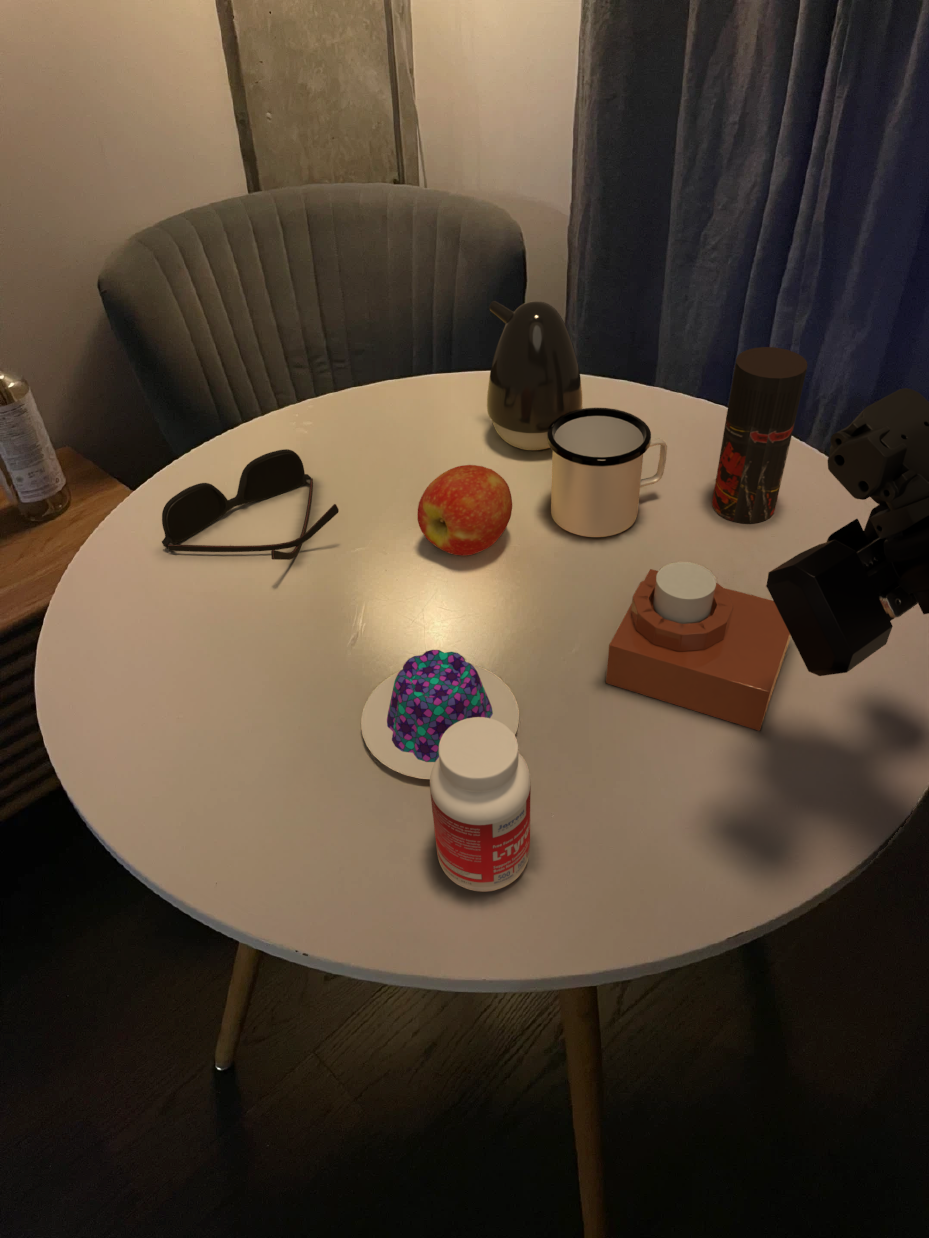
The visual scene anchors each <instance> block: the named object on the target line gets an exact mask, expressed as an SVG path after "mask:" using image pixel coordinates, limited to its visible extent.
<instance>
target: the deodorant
mask: <svg viewBox="0 0 929 1238" xmlns="http://www.w3.org/2000/svg"><path fill="white" fill-rule="evenodd" d="M808 366H809V365H808V362H807V360H806V359H805V358H804V356H802V355H800V354H799V353H797V352H795V351H792V350H789V349H785V348H781V347H774V346H760V347H752V348H749V349H746V350H744V351H742V352H740V353H739V354H737V356H736V358H735V363H734V370H733V375H732V381H731V388H730V394H729V399H728V403H727V404H728V406H727V410H726V417H725V423H724V429H723V434H722V441H721V446H720V452H719V458H718V465H717V470H716V475H715V476H716V477H715V482H714V488H713V493H712V501H711V504H712V505H711V506H712V508H713V510H714V512H715V513H716V514H718V516H720V517H721V518H723V519H725V520H727V521H730V522H733V523H739V524H747V525H751V524H759V523H762V522H766V521H767V520H769V519H771V518H772V517H773V515H774V514H775V511H776V507H777V502H778V498H779V494H780V489H781V485H782V479H783V476H784V472H785V467H786V463H787V458H788V453H789V450H790V445H791V441H792V437H793V433H794V432H793V431H794V427H795V423H796V418H797V414H798V410H799V406H800V401H801V396H802V392H803V388H804V384H805V378H806V375H807V370H808Z"/></svg>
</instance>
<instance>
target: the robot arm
mask: <svg viewBox="0 0 929 1238" xmlns="http://www.w3.org/2000/svg"><path fill="white" fill-rule="evenodd" d="M829 441H830V447H829V451H828V452H829V456H828V457H827V468H828V471H829V472H830V473H831V475H833V477H834V478H835V479H836V480H837V481H838V482H839V484H840V485H841V486H842V487H843V488H844V489H845V490H846V491H847V492H848V493H849V495H851V496H852V498H854V499H856V500H862V501H864V500H868V499H869V498H870V499H872V500H873V502H875V503H876V504H877V505H876V506H875V507H873V508H871V510H870V513H869V516H868V518H867V521H866V524H865V526H864V528H863V526H862V525H861V523H860V520H859V518H855V519H853V520H851V521H850V522H848V523H847V524H845V525H843V526H842V527H840V528H839V529H837V530H836V531H834V532H832V533H831V534H830V535H829V536H828V538H827V540H826V542H822V543H820V544H818V545H815V546H812V547H811V548H808V549H806V550H804V551H802V552H799V553H797V554H796V555H794V556H793V557H791V558H789V559H788V560H786V561H785V562H783V563H781V564H780V565H778V566H777V567H775V568H773V569H771V570H770V571H768V574H767V580H766V585H765V587H766V588H767V591H768V593H769V595H770V596H771V600H773V601H774V603H775V605H776V607H777V609H778V611H779V613H780V615H781V617H782V619H783V621H784V623H785V625H786V627H787V629H788V631H789V633H790V635H791V637H790V638H791V639H792V641H793V643H794V646H795V647H796V649H797V651H798V654H799V655H800V658H801V659H802V661H803V663H804V666H805V667H806V669H807V671H808V672H809V673H811V674H814V675H816V676H818V677H823V676H831V675H839V674H846V673H848V672H850V671H851V670H852V669H854V668H855V667H857V666H858V665H860V664H861V663H862V662H863V661H866V659H868V658H869V657H870V656H871V655H873V654H875V653H876V652H877V651H879V650H880V649H882V648H883V647H884V646H885V645H887V643H888V641H889V637H890V635H891V632H892V630H893V627H894V626H893V623H892V621H893V620H894V619H897V618H900V617H902V616H903V615H904V614H906V613H907V612H908V611H910V610H911V609H912V608H914V607H915V606H917V605H918V606H919V609H920V610H921V612H922V614H923V615H928V614H929V400H927V399H926V398H925V397H924V396H923V395H922V394H921V393H920V392H919V391H916V390H914V389H912V388H908V387H904V388H900V389H898V390H895V391H894V392H891V393H890V394H888V395H886V396H884V397H882V398H881V399H878V400H877V401H875V402H873V403H871V404H869V405H868V406H866V407H864V408H863V410H862V411H861V412H859V414H858V415H857V416H856V417H855V418H854V419H853V421H852V422H851V423H850V424H849V425H848V426H846V427H844V428H842V429H840V430H838V431H837V432H835V433H834V434H832V435H831V436H830V440H829Z"/></svg>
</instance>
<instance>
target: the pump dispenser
mask: <svg viewBox="0 0 929 1238" xmlns="http://www.w3.org/2000/svg"><path fill="white" fill-rule="evenodd" d="M488 308H489V311H490V312H491V313H492V314H494V316H496V317H497V318H498V319H500V321H502V322H503V323H504V324H505V325H504V327H503V329H502V332H501V334H500V337H499V340H498V342H497V345H496V348H495V351H494V354H493V358H492V363H491V367H490V372H489V378H488V385H487V386H488V387H487V394H486V395H487V396H486V411H487V415H488V417H489V419H490V420H491V422H492V425H493V428H494V429H495V431H496V433H497V434H498V436H499V437H500V438H501V439H502V440H503V441H504V442H505V443H507V444H509V445H510V446H512V447H515V448H518V449H521V450H525V451H542V450H547V449H551V448H550V446H549V445H548V442H547V432H548V428H549V426H550V424H551V423H552V422H553V421H554V420H555V419H557V418H558V417H560V416H561V415H564V414H566V413H568V412H571V411H575V410H579V409H583V387H582V378H581V371H580V367H579V361H578V358H577V353H576V350H575V347H574V343H573V341H572V337H571V334H570V331H569V330H568V327H567V325H566V324H565V321H564V320H563V318H562V316H561V315H560V313H559V312H558V310H557V309H556V308H555V307H554V306H552V305H551V304H549V303H547V302H545V301H541V300H531V301H528V302H524V303H522V304H521V305H519V306H518V307H517V308H516V309H515V310H512V309H510V308H508V307H506V306H505V305H503V304H501V303H499V302H498V301H496V300H493V301H491V303H490V304H489V307H488Z"/></svg>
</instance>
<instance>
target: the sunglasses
mask: <svg viewBox="0 0 929 1238" xmlns="http://www.w3.org/2000/svg"><path fill="white" fill-rule="evenodd" d="M306 484H308V485H309V489H308V498H307V506H306V511H305V516H304V521H303V525H302V529H301V532H300V536H299V537H298V538H296V539H294V540H290V541H286V542H280V543H272V544H261V545H259V544H257V545H205V544H179V543H180V542H182V541H185V540H186V539H189V538H191V537H192V536H194V535H196V534H197V533H199V532H200V531H202V530H204V529H205V528H207V527H208V526H210V525H211V524H212V523H214V522H215V521H217V520H218V519H219V518H221V517H222V516H224V515H225V514H226V513H228V512H230V511H231V510H232V509H234V508H235V507H238V506H243V505H247V504H250V503H254V502H258V501H262V500H266V499H270V498H273V497H277V496H279V495H282V494H284V493H285V494H286V493H288V492H290V491H292V490H294V489H297V488H299V487H301V486H304V485H306ZM313 487H314V480H313V477H311V476H310V475H309V474H307V473H305V467H304V463H303V460H302V458H301V457H300V456H299V454H297V452H295V451H294V450H292V449H289V448H285V449H279V450H274V451H270V452H266V453H265V454H262V455H260V456H258V457H256V458H254V459H253V460H251V461H250V462H248V463H247V464H246V465H245V467H244V469H243V470H242V471H241V475H240V478H239V483H238V487H237V491H236V495H235V496H234V497H231V498H230V499H228V498H227V497H226V496H225V494H224V493H223V492H222V491H221V490H220V489H219V488H217V487H216V486H215V485H213V484H212V483H209V482H200V483H195V484H194V485H191V486H188V487H187V488H184V489H183V490H181V491H179V492H178V493H176V494H175V495H174V496H172V497H171V498H170V499H169V500H168V501H167V502H166V503H165V505H164V507H163V509H162V512H161V525H162V529H163V532H164V538H163V539H162V540H161V544H162V545H163V547H164V548H165V549H168V551H170V552H191V553H192V552H195V553H196V552H197V553H199V552H200V553H249V552H251V553H252V552H267V551H269V552H270V553H271V554H270V555H271V560H274V561H275V560H278V561H279V560H280V561H281V560H282V561H283V560H284V561H288V560H289V561H290V560H293V559H294V558H295V557H297V555H298V554H299V551H300V549H301V547H302V545H303V544H304V543H305V542H307V541H309V540H310V539H311V538H313V537H314V536H315V534H317V533H318V532H319V531H320V530H321V529H322V528H323V527H324V526H325V525H326V524H328V523H329V522H330V521H331V520H332V519H333V518H334V517H335V516H336V515H338V514H339V511H340V510H339V507H338V506H337V504H336V503H333V505H332V506H331V507H329V509H328V510H327V511H326V512H325V513H324V514H323V515H322V516H321V517H319V519H318V520H317V521H316V522H315V523H314V524H313V525H312V526H311V527H310V528H309V529H308V530H307V528H308V523H309V518H310V514H311V507H312V501H313ZM291 548H293V550H292V551H290V552H285V551H280V550H285V549H291Z"/></svg>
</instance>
